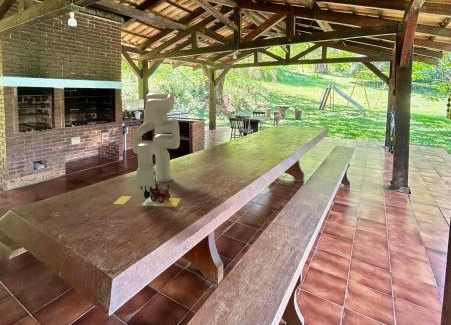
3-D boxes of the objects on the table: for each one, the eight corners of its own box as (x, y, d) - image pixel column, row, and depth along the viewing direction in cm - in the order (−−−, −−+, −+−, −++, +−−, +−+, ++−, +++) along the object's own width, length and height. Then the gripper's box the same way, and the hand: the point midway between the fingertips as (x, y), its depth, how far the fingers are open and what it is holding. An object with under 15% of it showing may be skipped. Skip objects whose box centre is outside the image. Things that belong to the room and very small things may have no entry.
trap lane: (121, 196, 170) (121, 196, 170) (181, 198, 168) (181, 198, 167) (112, 204, 158) (112, 203, 158) (176, 206, 156) (176, 206, 156)
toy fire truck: (155, 196, 170) (154, 179, 167) (172, 200, 165) (172, 182, 162) (147, 200, 164) (146, 182, 161) (165, 204, 159) (164, 186, 156)
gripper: (160, 164, 161) (162, 195, 165) (134, 164, 162) (136, 195, 166) (157, 168, 154) (158, 200, 158) (129, 167, 154) (131, 199, 159)
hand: (147, 197), depth 162 cm, fingers closed
